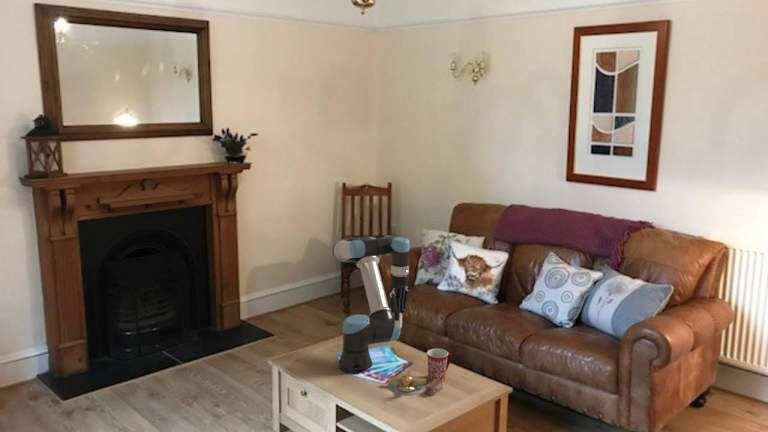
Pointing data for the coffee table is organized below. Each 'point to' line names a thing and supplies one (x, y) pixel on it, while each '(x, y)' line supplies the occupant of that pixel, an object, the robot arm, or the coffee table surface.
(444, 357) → the mug
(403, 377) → the cam capstan
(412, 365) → the coffee table surface
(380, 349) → the coffee table surface
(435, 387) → the brown angular block
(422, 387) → the stand plate
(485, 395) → the coffee table surface
